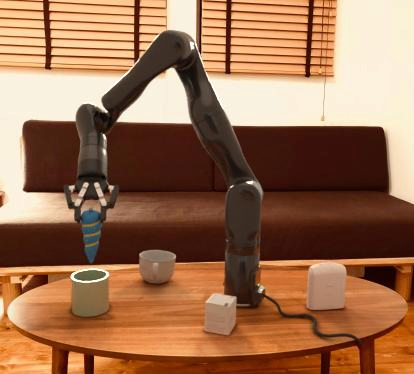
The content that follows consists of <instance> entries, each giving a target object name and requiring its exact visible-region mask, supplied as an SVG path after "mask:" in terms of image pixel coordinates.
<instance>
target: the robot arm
mask: <svg viewBox="0 0 414 374" xmlns="http://www.w3.org/2000/svg"><path fill="white" fill-rule="evenodd" d="M170 69H174V71H175V73H176V74H177V76H178V78H179V80H180V82H181V84H182V86H183V89H184V92H185V97H186V103H187V111H188V116H189V117H188V118H189V120H190V122H191V125H192V127H193V129H194V132H195V133H196V136H197V138H198V140H199V142H200V144H201V145H202V147H203V148H204V149H205V151H206V152H207V153H208V155H209V156H210V157H211V159H212V160H213V161H214V163H215V164H216V165H217V166H218V169H219V170H220V172H221V174H222V177H223V178H224V181H225V184H226V187H227V192H226V194H225V202H224V229H225V230H224V232H225V247H224V248H225V249H224V250H225V251H224V273H223V274H224V277H223V283H222V284H223V285H222V286H223V295H228V296H234V297H237V298H236V308H255V307H256V305H257V304H258V303H260V304H261V303H262V302H263V300H264V299H266V300H267V301H270V302H271V303H273V304H274V305H275V307H276V309H277V311H278V314H280V315H281V316H283V317H285V318H304V317H305V318H309V319H310V320H312V321H313V324H312V330H313V332H314V333H315V334H316V335H317V336H319V337H322V338H327V339H330V338H331V339H333V338H350V339H352V340H354V341H356V343H358V344H360V345H362V344H363V342H362V340H361V339H360V338H359V337H357V336H356V335H354V334H353V333H352V334H351V333H347V332H345V333H344V332H340V333H323V332H320V331H319V330H318V329H317V324H318V319H316V317H315V316H314V315H312V314H309V313H293V314H290V313H286V312H284V311H282V309H281V306H280V304H279V302H278V301H276V300H275V299H274V298H272V297H271V296H269V295H268V294H266V286H262V285H261V280H262V279H261V277H262V266H261V265H260V256H261V240H262V239H261V237H262V231H261V218H262V204H263V202H264V197H265V195H264V190H263V187H262V186H261V184H260V182H259V180H258V179H257V178H256V176H255V174H254V172H253V170H252V168H251V167H250V166H249V164H248V162H247V160H246V158H245V156H244V154H243V150H242V148H241V145H240V142H239V140H238V138H237V135H236V133H235V131H234V128H233V125H232V123H231V121H230V119H229V117H228V115H227V112H226V111H225V109H224V107H223V103H221V100H220V99H219V96H218V94H217V92H216V90H215V88H214V86H213V84H212V82H211V80H210V78H209V76H208V73H207V72H206V69H205V65H204V63H203V60H202V56H201V54H200V51H199V48H198V46H197V43H196V41H195V40H194V38H193V36H191V35H190V34H189V33H187V32H185V31H181V30H176V29H167V30H163V31H162V32H160V33H158V35H157V36H156V37H155V38H154V39H153V41H152V42H151V43H150V44H149V46H148V47H147V49H146V50H145V52H144V53H143V54H142V55H141V56H140V57H139V58H138V60H137V61H136V62H135V63H134V65H133V66H132V67H131V68H130V69H129V70H128V71H127V72H126V73H125V74H124V75H123V76H122V77H120V78H119V80H118V81H116V82H115V83H114V84H113V85H112V86H111V87H110V88H108V90H106V91H105V92H104V93H103V94H102V96H101V98H100V102H101V105H102V107H103V108H104V109H105V110H104V109H102V108H101V107H98V105H96V104H94V103H92V102H84V103H82V104H81V105H80V106H79V107H78V108H77V110H76V113H75V125H76V129H77V130H76V131H77V133H78V137H79V140H80V141H79V142H80V144H79V154H78V158H77V172H76V173H77V174H76V182H75V183H74V184H73V185H69V184H63V191H64V197H65V200H66V204H67V208H68V209H69V210H74V211H73V212H74V213H73V219H74V222H76V224H77V225H78V224H79V225H80V224H81V215H82V208H83V206H84V205H85V203H86V201H91V200H92V201H97V203H98V204H99V205H100V209H99V210H100V211H99V213H100V223H102V224H104V222H107V214H108V213H107V211H108V210H109V209H110V210H113V209H114V208H115V205H116V203H117V199H118V196H119V193H120V185H118V184H114V185H110V184H109V182H108V167H109V164H108V162H109V160H108V140H107V139H108V138H107V136H106V135H108V134H109V133H111V131H112V130H113V129H114V126H115V125H116V123H117V122H118V120H119V119H120V118H121V116H122V115H123V113H124V112H125V111H126V110H128V109H129V108H130V107H131V106H132V105H134V104H135V103H136V102H137V101H138V99H139V98H140V97H142V95H143V94H144V92H145V90H146V89H147V88H148V86H149V84H151V83H152V82H153V80H155V79H156V78H157V77H158V76H160V75H161V74H163V73H164V72H166V71H168V70H170ZM108 191H109V194H110V197H109V200H108V201H106V199H105V194H106V193H107V192H108ZM74 192H76V193H77V194H78V195H77V198H76V200H75V201H73V199H72V198H73V197H72V195H73V194H74Z"/></svg>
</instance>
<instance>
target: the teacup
mask: <svg viewBox="0 0 414 374" xmlns="http://www.w3.org/2000/svg"><path fill="white" fill-rule="evenodd" d="M176 258H177V255H176V254H175V253H173V252H171V251H168V250H161V249H149V250H144V251H142V252H140V253H139V261H138V262H139V263H138V269H139V272H138V273H139V275H140V277H141V278H142V279H144V281H145V282H147V283H150V284H164V283H166V282H168V281H169V280H170V279H172V277H173V276H174V274H175V268H176V260H177V259H176Z"/></svg>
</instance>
